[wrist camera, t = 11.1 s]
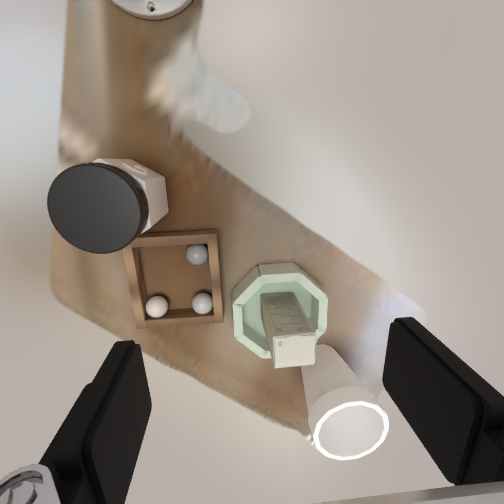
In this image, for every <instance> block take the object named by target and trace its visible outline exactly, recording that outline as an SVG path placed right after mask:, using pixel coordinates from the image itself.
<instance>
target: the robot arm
mask: <svg viewBox="0 0 504 504" xmlns="http://www.w3.org/2000/svg"><path fill="white" fill-rule="evenodd" d="M192 1H193V0H111V2H112V3H114V4H115V5H116V6H118V7H119V8H120V9H122V10H123V11H125V12H127V13H129V14H131V15H133V16H135V17H139V18H143V19H150V20H159V19H165V18H169V17H171V16H174V15H176V14H178V13H179V12H181V11H182V10H183V9H185V8H186V7H187V6H188V5H189V4H190V3H191V2H192ZM151 9H155V10H154V11H153V12H151ZM382 380H383V385H384V387H385V389H386V391H387V392H388V393H389V395H390V397H391V398H392V400H393V401H394V402H395V404H396V405H397V407H398V408H399V410H400V411H401V413H402V414H403V416H404V417H405V418H406V420H407V422H408V423H409V425H410V426H411V428H412V429H413V431H414V432H415V434H416V435H417V436H418V438H419V439H420V441H421V442H422V444H423V445H424V447H425V448H426V450H427V451H428V453H429V454H430V455H431V457H432V459H433V460H434V462H435V463H436V465H437V466H438V468H439V469H440V470H441V472H442V473H443V475H444V476H445V478H446V479H447V480H448V481H449V482H450V483H454V484H455V486H452V487H444V488H435V489H427V490H419V491H411V492H403V493H395V494H387V495H379V496H370V497H363V498H355V499H347V500H339V501H331V502H323V503H315V504H504V397H503V396H502V395H501V394H500V393H499V392H498V391H497V390H495V389H494V388H493V387H492V386H491V385H490V384H489V383H488V382H486V381H485V380H484V379H483V378H482V377H481V376H480V375H478V374H477V373H476V372H475V371H474V370H473V369H472V368H470V367H469V366H468V365H467V364H466V363H465V362H464V361H462V360H461V359H460V358H459V357H458V356H457V355H456V354H454V353H453V352H452V351H451V350H450V349H449V348H448V347H446V346H445V345H444V344H443V343H442V342H441V341H440V340H438V339H437V338H436V337H435V336H434V335H433V334H432V333H430V332H429V331H428V330H427V329H426V328H425V327H424V326H422V325H421V324H420V323H419V322H418V321H417V320H416V319H414V318H413V317H404V318H396V319H395V320H394V322H392V323H391V324H390V329H389V336H388V343H387V350H386V357H385V364H384V371H383V377H382ZM151 404H152V403H151V397H150V392H149V387H148V382H147V377H146V372H145V367H144V362H143V358H142V352H141V347H140V345H139V344H135V342H134V341H133V340H129V341H117V342H116V343H115V344H114V345H113V347H112V349H111V350H110V352H109V354H108V356H107V357H106V359H105V361H104V362H103V364H102V366H101V368H100V369H99V371H98V373H97V375H96V376H95V378H94V379H93V381H92V383H89V384H87V385H86V386H85V388H84V389H83V390H82V392H81V394H80V395H79V397H78V399H77V400H76V402H75V404H74V406H73V407H72V409H71V410H70V412H69V414H68V415H67V417H66V419H65V420H64V422H63V424H62V425H61V427H60V429H59V430H58V432H57V434H56V435H55V437H54V439H53V440H52V442H51V444H50V445H49V447H48V449H47V450H46V452H45V453H44V455H43V457H42V459H41V460H40V462H39V463H38V464H32V465H28V466H25V467H21V468H19V469H17V470H15V471H13V472H11V473H9V474H8V475H6V476H5V477H4V478H2V479H1V480H0V504H124V503H125V500H126V496H127V493H128V489H129V486H130V482H131V479H132V476H133V472H134V469H135V465H136V461H137V458H138V455H139V451H140V448H141V444H142V441H143V437H144V434H145V431H146V427H147V423H148V420H149V417H150V413H151V406H152V405H151Z"/></svg>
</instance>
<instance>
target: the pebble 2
mask: <svg viewBox="0 0 504 504" xmlns="http://www.w3.org/2000/svg"><path fill="white" fill-rule="evenodd" d="M186 257H187V259H188V261H189V262H190V263H192V264H194V265H201V264H203V263H205V262H206V261H207V259H208V257H209V252H208V249H207V247H206V246H205V245H204V244H191V245H190V246H189V247H188V248H187V251H186Z"/></svg>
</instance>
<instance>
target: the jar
mask: <svg viewBox="0 0 504 504" xmlns="http://www.w3.org/2000/svg"><path fill="white" fill-rule="evenodd" d="M47 207H48V212H49V216H50V219H51V221H52V223H53V225H54V227H55V228H56V230H57V231H58V233H59V234H60V235H61V236H62V237H63V238H64V239H65V240H66V241H68V242H69V243H70V244H72V245H73V246H75V247H77V248H79V249H81V250H84V251H87V252H91V253H97V254H106V253H112V252H116V251H119V250H121V249H123V248H125V247H126V246H128V245H129V244H130V243H131V242H133V241H134V240H135V239H136V238H137V237H138V236H139V235H140V234H142V233H143V232H145V231H146V230H148V229H150V228H151V227H152V226H153V225H154V224H156V223H157V222H158V221H159V220H160V219H161V218H163V217H164V216H165V215H166V214H167V213H168V212H169V210H168V202H167V193H166V184H165V177H164V176H162V175H160V174H158V173H156V172H154V171H153V170H151V169H149V168H147V167H145V166H143V165H141V164H139V163H137V162H135V161H133V160H132V159H101V158H99V159H97V160H95V161H94V162H92V163H88V164H87V163H83V164H79V165H75V166H72V167H70V168H68V169H66V170H64V171H63V172H61V173H60V174H59V175H58V176H57V177H56V178H55V180H54V181H53V183H52V185H51V187H50V189H49V192H48V198H47Z"/></svg>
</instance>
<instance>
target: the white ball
mask: <svg viewBox="0 0 504 504" xmlns="http://www.w3.org/2000/svg"><path fill="white" fill-rule="evenodd" d="M192 307H193V309H194V311H195V312H197V313H198V314H206V313H208V312H210V311H211V309H212V307H213V299H212V297H211V296H210V295H209V294H207V293H199V294H197V295H196V296H195V297H194V298H193V300H192Z"/></svg>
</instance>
